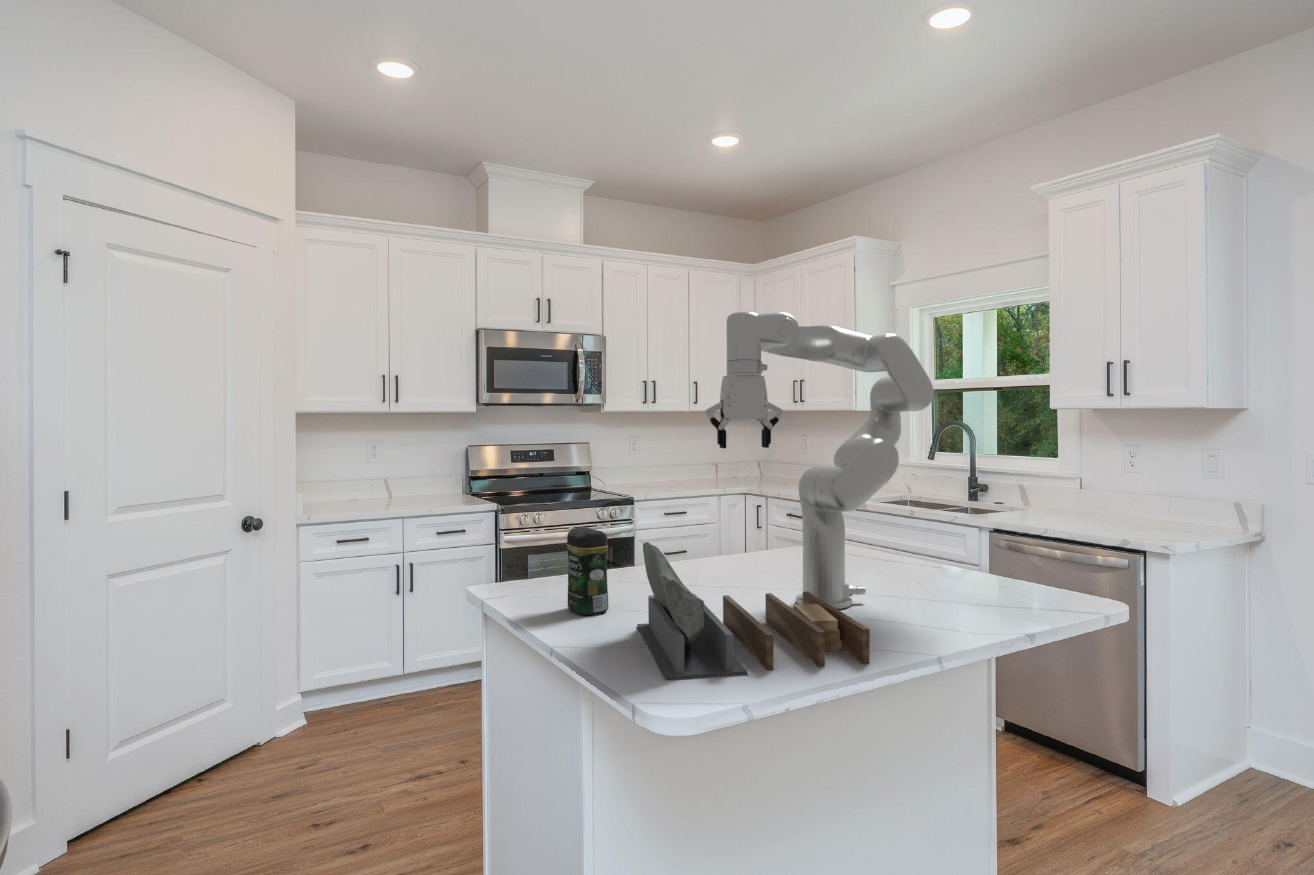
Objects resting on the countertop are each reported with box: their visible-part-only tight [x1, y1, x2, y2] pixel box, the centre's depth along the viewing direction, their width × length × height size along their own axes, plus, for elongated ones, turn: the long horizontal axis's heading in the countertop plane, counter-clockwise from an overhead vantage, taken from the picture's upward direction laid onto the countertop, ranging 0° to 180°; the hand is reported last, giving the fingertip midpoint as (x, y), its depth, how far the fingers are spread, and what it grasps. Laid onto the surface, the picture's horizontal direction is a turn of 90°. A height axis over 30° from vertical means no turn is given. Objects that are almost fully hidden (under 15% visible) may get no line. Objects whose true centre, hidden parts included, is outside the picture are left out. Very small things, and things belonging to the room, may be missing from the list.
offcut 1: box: [793, 603, 838, 631], centre depth 144 cm, size 5×12×2 cm, turn 5°
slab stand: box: [636, 593, 749, 681], centre depth 140 cm, size 14×32×7 cm, turn 10°
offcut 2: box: [825, 629, 840, 642], centre depth 144 cm, size 5×12×2 cm, turn 8°
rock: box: [642, 541, 705, 645], centre depth 139 cm, size 27×6×20 cm, turn 14°
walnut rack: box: [722, 591, 871, 671], centre depth 143 cm, size 19×29×6 cm, turn 10°
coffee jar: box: [566, 526, 609, 616], centre depth 168 cm, size 10×8×19 cm
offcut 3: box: [825, 640, 843, 651], centre depth 144 cm, size 5×12×2 cm, turn 12°
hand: (744, 447), depth 165 cm, fingers open, 9 cm apart
